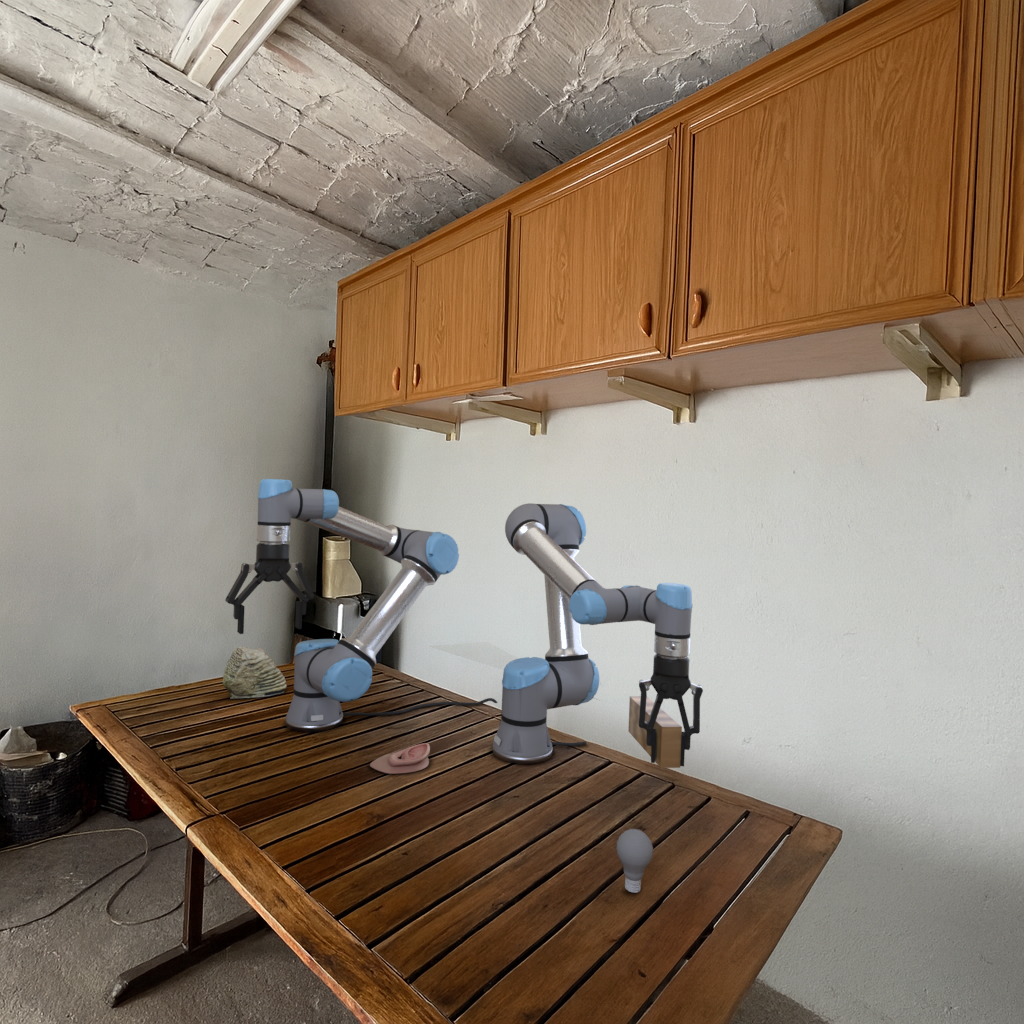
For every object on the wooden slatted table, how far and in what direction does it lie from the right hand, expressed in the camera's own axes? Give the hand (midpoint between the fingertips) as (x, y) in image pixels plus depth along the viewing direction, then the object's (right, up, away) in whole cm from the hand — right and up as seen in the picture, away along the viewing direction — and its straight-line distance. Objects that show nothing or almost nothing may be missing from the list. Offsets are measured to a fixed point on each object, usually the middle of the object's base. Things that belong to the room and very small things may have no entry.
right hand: (667, 761), depth 137 cm
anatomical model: (-60, -6, +14) cm, 62 cm away
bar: (-1, -1, +9) cm, 10 cm away
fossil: (-114, -3, +61) cm, 129 cm away
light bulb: (-13, -9, -32) cm, 36 cm away
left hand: (-92, +25, +16) cm, 97 cm away
